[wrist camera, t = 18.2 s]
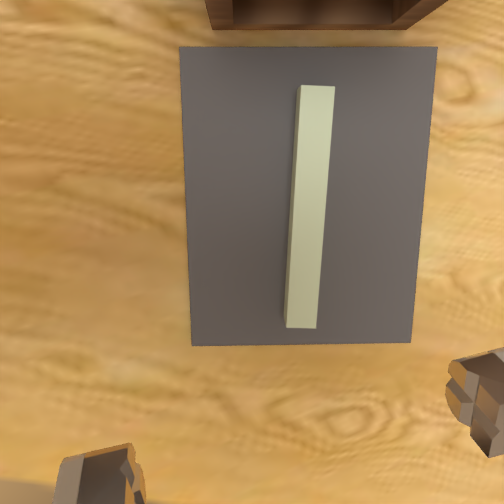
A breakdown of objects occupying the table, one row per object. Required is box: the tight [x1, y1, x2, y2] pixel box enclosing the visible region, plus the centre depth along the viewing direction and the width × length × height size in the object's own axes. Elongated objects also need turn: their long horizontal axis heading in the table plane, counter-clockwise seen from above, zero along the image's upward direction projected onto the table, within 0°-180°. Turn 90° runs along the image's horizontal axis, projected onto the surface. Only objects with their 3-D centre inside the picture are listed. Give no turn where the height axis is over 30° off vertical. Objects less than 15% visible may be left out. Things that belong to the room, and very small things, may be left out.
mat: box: [179, 47, 438, 346], centre depth 44 cm, size 24×30×1 cm
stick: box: [284, 85, 335, 329], centre depth 42 cm, size 3×23×3 cm, turn 178°
